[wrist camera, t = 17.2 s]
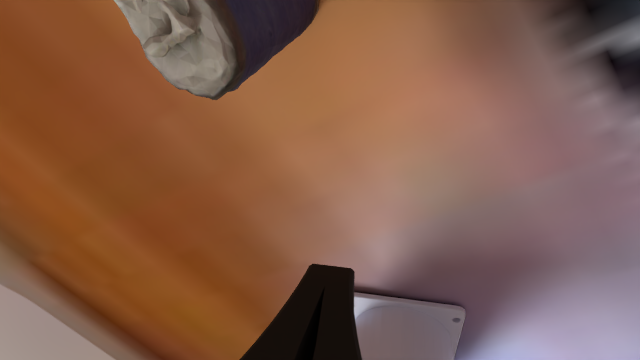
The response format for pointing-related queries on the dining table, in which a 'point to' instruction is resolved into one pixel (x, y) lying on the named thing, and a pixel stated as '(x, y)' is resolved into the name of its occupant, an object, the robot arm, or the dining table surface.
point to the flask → (215, 38)
